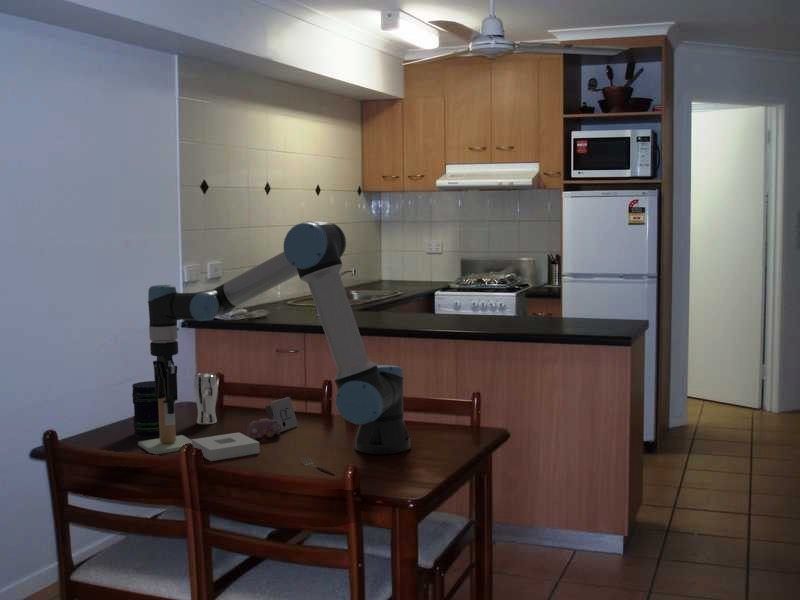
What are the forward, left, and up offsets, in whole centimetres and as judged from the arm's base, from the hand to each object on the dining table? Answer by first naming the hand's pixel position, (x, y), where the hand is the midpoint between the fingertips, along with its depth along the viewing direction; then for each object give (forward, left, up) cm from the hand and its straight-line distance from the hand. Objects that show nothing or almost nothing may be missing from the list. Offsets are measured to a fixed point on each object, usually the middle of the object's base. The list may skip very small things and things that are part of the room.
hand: (167, 423), depth 262 cm
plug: (0, 0, -5) cm, 5 cm away
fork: (-45, -24, -7) cm, 52 cm away
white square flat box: (-15, -11, -7) cm, 20 cm away
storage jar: (+18, -1, -7) cm, 19 cm away
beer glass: (+22, -20, -7) cm, 31 cm away
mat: (0, 0, -7) cm, 7 cm away
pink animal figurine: (-6, -27, -7) cm, 28 cm away
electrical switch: (0, -35, -7) cm, 36 cm away
